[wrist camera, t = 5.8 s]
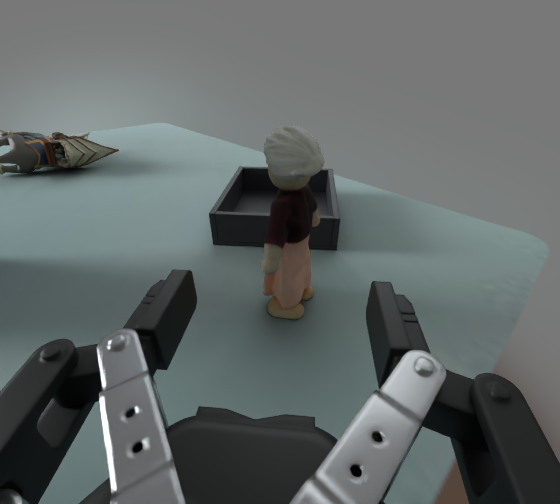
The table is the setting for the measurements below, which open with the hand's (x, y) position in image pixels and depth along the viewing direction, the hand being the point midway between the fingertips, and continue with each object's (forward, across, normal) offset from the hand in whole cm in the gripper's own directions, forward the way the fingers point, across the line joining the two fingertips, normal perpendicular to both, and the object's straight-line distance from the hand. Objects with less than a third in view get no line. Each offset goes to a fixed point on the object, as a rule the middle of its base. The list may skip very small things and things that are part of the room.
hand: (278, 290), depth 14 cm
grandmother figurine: (+7, 0, +7) cm, 10 cm away
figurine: (+37, +40, +7) cm, 55 cm away
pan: (+22, +2, +7) cm, 23 cm away
